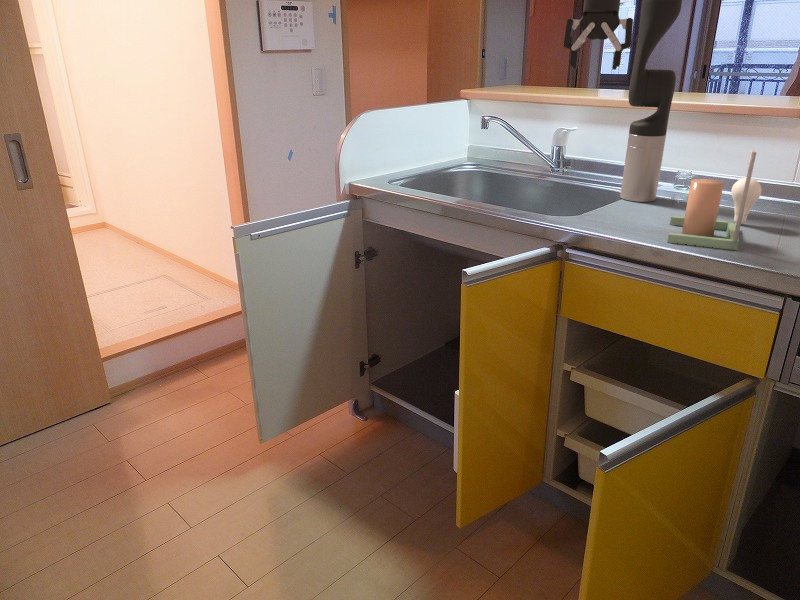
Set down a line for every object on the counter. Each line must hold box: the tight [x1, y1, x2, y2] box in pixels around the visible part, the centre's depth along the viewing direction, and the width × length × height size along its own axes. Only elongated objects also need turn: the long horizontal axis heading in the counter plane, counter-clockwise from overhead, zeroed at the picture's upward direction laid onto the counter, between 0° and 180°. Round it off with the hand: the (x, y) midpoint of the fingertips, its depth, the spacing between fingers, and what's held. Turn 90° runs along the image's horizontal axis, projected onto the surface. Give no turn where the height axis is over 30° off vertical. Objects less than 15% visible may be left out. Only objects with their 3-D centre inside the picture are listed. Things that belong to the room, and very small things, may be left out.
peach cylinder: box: [681, 178, 725, 237], centre depth 137 cm, size 6×6×12 cm
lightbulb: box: [730, 177, 762, 225], centre depth 146 cm, size 6×6×11 cm
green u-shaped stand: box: [667, 148, 757, 251], centre depth 135 cm, size 17×14×20 cm
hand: (594, 69), depth 140 cm, fingers open, 8 cm apart
